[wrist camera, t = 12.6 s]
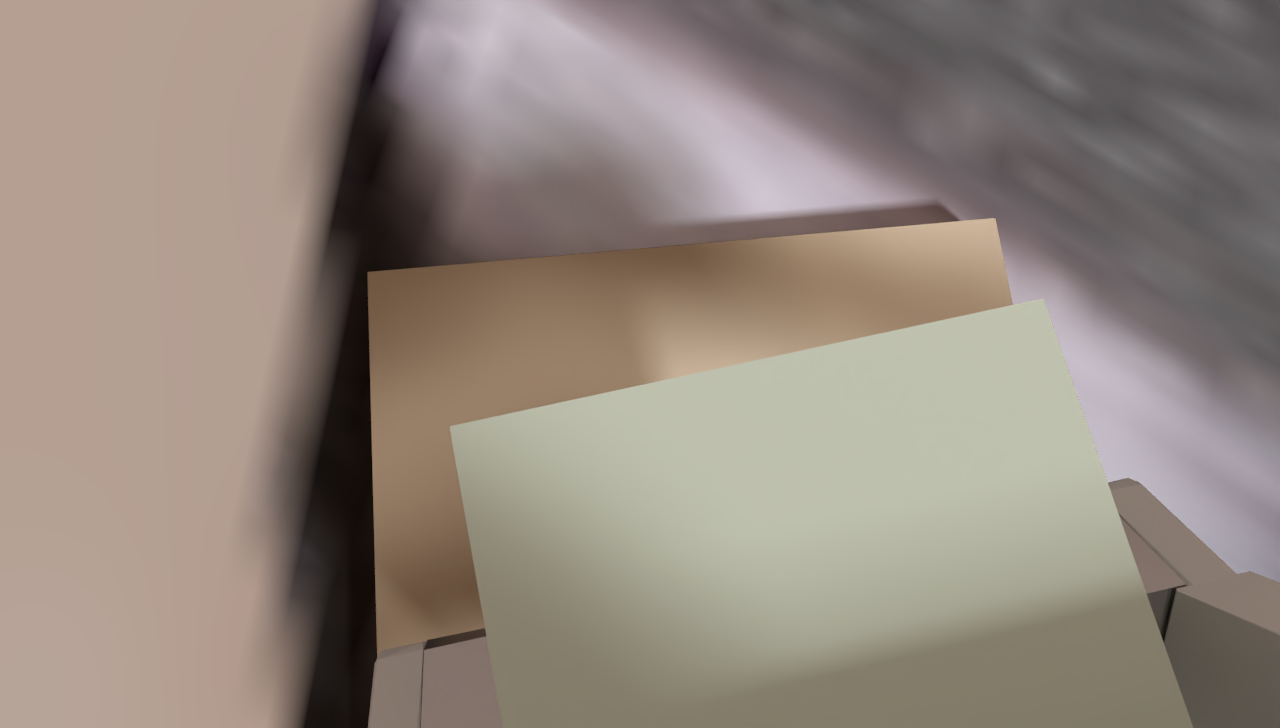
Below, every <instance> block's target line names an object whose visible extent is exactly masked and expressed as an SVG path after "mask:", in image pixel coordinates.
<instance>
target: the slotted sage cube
mask: <svg viewBox="0 0 1280 728" xmlns="http://www.w3.org/2000/svg"><path fill="white" fill-rule="evenodd" d="M449 427H450V433H451V438H452V444H453V450H454V455H455V461H456V467H457V472H458V478H459V484H460V489H461V495H462V501H463V506H464V512H465V518H466V523H467V529H468V534H469V540H470V546H471V551H472V557H473V563H474V568H475V574H476V580H477V585H478V591H479V597H480V602H481V608H482V614H483V619H484V625H485V631H486V636H487V642H488V648H489V653H490V659H491V664H492V670H493V676H494V681H495V687H496V693H497V698H498V704H499V710H500V715H501V721H502V727H503V728H1193V725H1192V723H1191V720H1190V717H1189V714H1188V711H1187V708H1186V705H1185V703H1184V700H1183V697H1182V694H1181V691H1180V688H1179V685H1178V682H1177V680H1176V677H1175V674H1174V671H1173V668H1172V665H1171V662H1170V660H1169V657H1168V654H1167V651H1166V648H1165V645H1164V642H1163V640H1162V637H1161V634H1160V631H1159V628H1158V625H1157V622H1156V619H1155V617H1154V614H1153V611H1152V608H1151V605H1150V602H1149V599H1148V597H1147V594H1146V591H1145V588H1144V585H1143V582H1142V579H1141V577H1140V574H1139V571H1138V568H1137V565H1136V562H1135V559H1134V557H1133V554H1132V551H1131V548H1130V545H1129V542H1128V539H1127V536H1126V534H1125V531H1124V528H1123V525H1122V522H1121V519H1120V516H1119V514H1118V511H1117V508H1116V505H1115V502H1114V499H1113V496H1112V494H1111V491H1110V488H1109V485H1108V482H1107V479H1106V476H1105V473H1104V471H1103V468H1102V465H1101V462H1100V459H1099V456H1098V453H1097V451H1096V448H1095V445H1094V442H1093V439H1092V436H1091V433H1090V431H1089V428H1088V425H1087V422H1086V419H1085V416H1084V413H1083V410H1082V408H1081V405H1080V402H1079V399H1078V396H1077V393H1076V390H1075V388H1074V385H1073V382H1072V379H1071V376H1070V373H1069V370H1068V368H1067V365H1066V362H1065V359H1064V356H1063V353H1062V350H1061V347H1060V345H1059V342H1058V339H1057V336H1056V333H1055V330H1054V327H1053V325H1052V322H1051V319H1050V316H1049V313H1048V310H1047V307H1046V305H1045V302H1044V299H1043V298H1042V299H1038V300H1033V301H1028V302H1024V303H1019V304H1014V305H1010V306H1005V307H1001V308H996V309H991V310H987V311H982V312H977V313H973V314H968V315H963V316H959V317H954V318H950V319H945V320H940V321H936V322H931V323H926V324H922V325H917V326H912V327H908V328H903V329H899V330H894V331H889V332H885V333H880V334H875V335H871V336H866V337H861V338H857V339H852V340H848V341H843V342H838V343H834V344H829V345H824V346H820V347H815V348H810V349H806V350H801V351H797V352H792V353H787V354H783V355H778V356H773V357H769V358H764V359H759V360H755V361H750V362H745V363H741V364H736V365H732V366H727V367H722V368H718V369H713V370H708V371H704V372H699V373H694V374H690V375H685V376H681V377H676V378H671V379H667V380H662V381H657V382H653V383H648V384H643V385H639V386H634V387H630V388H625V389H620V390H616V391H611V392H606V393H602V394H597V395H592V396H588V397H583V398H579V399H574V400H569V401H565V402H560V403H555V404H551V405H546V406H541V407H537V408H532V409H528V410H523V411H518V412H514V413H509V414H504V415H500V416H495V417H490V418H486V419H481V420H476V421H472V422H467V423H463V424H458V425H453V426H449Z"/></svg>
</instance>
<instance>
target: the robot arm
mask: <svg viewBox="0 0 1280 728" xmlns="http://www.w3.org/2000/svg"><path fill="white" fill-rule="evenodd" d="M1108 485H1109V488H1110V491H1111V494H1112V496H1113V499H1114V502H1115V505H1116V508H1117V511H1118V514H1119V516H1120V519H1121V522H1122V525H1123V528H1124V531H1125V534H1126V536H1127V539H1128V542H1129V545H1130V548H1131V551H1132V554H1133V557H1134V559H1135V562H1136V565H1137V568H1138V571H1139V574H1140V577H1141V579H1142V582H1143V585H1144V588H1145V591H1146V594H1147V597H1148V599H1149V602H1150V605H1151V608H1152V611H1153V614H1154V617H1155V619H1156V622H1157V625H1158V628H1159V631H1160V634H1161V637H1162V640H1163V642H1164V645H1165V648H1166V651H1167V654H1168V657H1169V660H1170V662H1171V665H1172V668H1173V671H1174V674H1175V677H1176V680H1177V682H1178V685H1179V688H1180V691H1181V694H1182V697H1183V700H1184V703H1185V705H1186V708H1187V711H1188V714H1189V717H1190V720H1191V723H1192V725H1193V728H1280V583H1279V582H1277V581H1274V580H1271V579H1269V578H1266V577H1264V576H1261V575H1258V574H1256V573H1253V572H1251V571H1250V572H1245V573H1240V574H1236V573H1235V572H1234V571H1233V570H1232V569H1231V568H1230V567H1229V566H1228V565H1227V564H1226V563H1225V562H1224V561H1223V560H1221V559H1220V558H1219V557H1218V556H1217V555H1216V554H1215V553H1214V552H1213V551H1212V550H1211V549H1210V548H1209V547H1208V546H1207V545H1205V544H1204V543H1203V542H1202V541H1201V540H1200V539H1199V538H1198V537H1197V536H1196V535H1195V534H1194V533H1193V532H1192V531H1191V530H1190V529H1188V528H1187V527H1186V526H1185V525H1184V524H1183V523H1182V522H1181V521H1180V520H1179V519H1178V518H1177V517H1176V516H1175V515H1174V514H1172V513H1171V512H1170V511H1169V510H1168V509H1167V508H1166V507H1165V506H1164V505H1163V504H1162V503H1161V502H1160V501H1159V500H1158V499H1156V498H1155V497H1154V496H1153V495H1152V494H1151V493H1150V492H1149V491H1148V490H1147V489H1146V488H1145V487H1144V486H1143V485H1142V484H1140V483H1139V482H1137V481H1134V480H1132V479H1129V478H1126V479H1121V480H1117V481H1113V482H1109V483H1108ZM368 728H503V727H502V721H501V715H500V710H499V704H498V698H497V693H496V687H495V681H494V676H493V670H492V664H491V659H490V653H489V648H488V642H487V636H486V631H485V628H483V629H478V630H473V631H468V632H463V633H459V634H454V635H449V636H444V637H439V638H434V639H429V640H427V641H425V642H420V643H415V644H410V645H405V646H400V647H395V648H390V649H385V650H381V651H380V653H379V655H378V657H377V660H376V662H375V665H374V674H373V684H372V693H371V703H370V712H369V721H368Z"/></svg>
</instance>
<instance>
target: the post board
mask: <svg viewBox="0 0 1280 728" xmlns="http://www.w3.org/2000/svg"><path fill="white" fill-rule="evenodd" d="M367 273H368V312H369V352H370V391H371V431H372V470H373V510H374V549H375V588H376V628H377V657H378V655H379V653H380V651H381V650H385V649H390V648H395V647H400V646H405V645H410V644H415V643H420V642H425V641H427V640H429V639H434V638H439V637H444V636H449V635H454V634H459V633H463V632H468V631H473V630H478V629H483V628H485V625H484V619H483V614H482V608H481V602H480V597H479V591H478V585H477V580H476V574H475V568H474V563H473V557H472V551H471V546H470V540H469V534H468V529H467V523H466V518H465V512H464V506H463V501H462V495H461V489H460V484H459V478H458V472H457V467H456V461H455V455H454V450H453V444H452V438H451V433H450V427H449V426H453V425H458V424H463V423H467V422H472V421H476V420H481V419H486V418H490V417H495V416H500V415H504V414H509V413H514V412H518V411H523V410H528V409H532V408H537V407H541V406H546V405H551V404H555V403H560V402H565V401H569V400H574V399H579V398H583V397H588V396H592V395H597V394H602V393H606V392H611V391H616V390H620V389H625V388H630V387H634V386H639V385H643V384H648V383H653V382H657V381H662V380H667V379H671V378H676V377H681V376H685V375H690V374H694V373H699V372H704V371H708V370H713V369H718V368H722V367H727V366H732V365H736V364H741V363H745V362H750V361H755V360H759V359H764V358H769V357H773V356H778V355H783V354H787V353H792V352H797V351H801V350H806V349H810V348H815V347H820V346H824V345H829V344H834V343H838V342H843V341H848V340H852V339H857V338H861V337H866V336H871V335H875V334H880V333H885V332H889V331H894V330H899V329H903V328H908V327H912V326H917V325H922V324H926V323H931V322H936V321H940V320H945V319H950V318H954V317H959V316H963V315H968V314H973V313H977V312H982V311H987V310H991V309H996V308H1001V307H1005V306H1010V305H1013V304H1012V299H1011V294H1010V289H1009V284H1008V279H1007V274H1006V269H1005V264H1004V259H1003V254H1002V249H1001V244H1000V239H999V234H998V230H997V225H996V220H995V218H991V219H979V220H967V221H956V222H944V223H933V224H921V225H909V226H898V227H886V228H874V229H863V230H851V231H839V232H828V233H816V234H804V235H793V236H781V237H770V238H758V239H746V240H735V241H723V242H711V243H700V244H688V245H676V246H665V247H653V248H641V249H630V250H618V251H606V252H595V253H583V254H572V255H560V256H548V257H537V258H525V259H513V260H502V261H490V262H478V263H467V264H455V265H443V266H432V267H420V268H409V269H397V270H385V271H374V272H367Z"/></svg>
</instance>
